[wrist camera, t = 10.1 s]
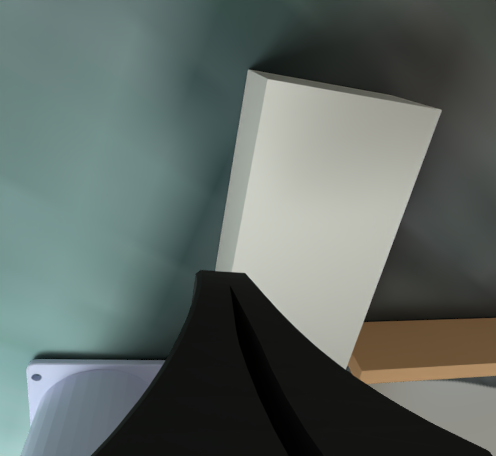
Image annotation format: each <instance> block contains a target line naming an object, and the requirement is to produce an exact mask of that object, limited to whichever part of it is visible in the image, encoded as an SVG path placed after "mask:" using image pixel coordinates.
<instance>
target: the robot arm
mask: <svg viewBox="0 0 496 456" xmlns="http://www.w3.org/2000/svg"><path fill="white" fill-rule="evenodd" d="M26 372H27V385H28V398H29V411H30V424H31V427H30V430H29V433H28V435H27V438H26V441H25V444H24V446H23V449H22V452H21V455H20V456H492V455H491V453H490V452H489V451H488V450H486V449H484V448H482V447H479V446H478V445H476V444H474V443H471V442H469V441H467V440H465V439H463V438H461V437H459V436H457V435H455V434H453V433H451V432H449V431H447V430H445V429H443V428H440V427H439V426H436V425H435V424H433V423H431V422H429V421H427V420H425V419H423V418H422V417H420V416H418V415H416V414H415V413H413V412H411V411H409V410H407V409H406V408H404V407H402V406H400V405H399V404H397V403H395V402H394V401H392V400H390V399H389V398H387V397H385V396H384V395H382V394H381V393H379V392H377V391H376V390H375V389H373V388H371V387H370V386H369V385H367V384H366V383H364V382H363V381H361V380H360V379H358V378H357V377H355V376H354V375H352V374H351V373H350V372H348V371H347V370H345V369H344V368H343V367H341V366H340V365H339V364H338V363H336V362H335V361H334V360H332V359H331V358H330V357H329V356H327V355H326V354H325V353H324V352H322V351H321V350H320V349H319V348H318V347H316V346H315V345H314V344H313V343H312V342H311V341H310V340H309V339H307V338H306V337H305V336H304V335H303V334H302V333H301V332H300V331H299V330H298V329H297V328H296V327H295V326H294V325H293V324H292V323H291V322H290V321H289V320H288V319H287V318H286V317H285V316H284V315H283V314H282V313H281V312H280V311H279V310H278V309H277V308H276V307H275V306H274V305H273V304H272V303H271V301H270V300H269V299H268V298H267V297H266V296H265V295H264V294H263V293H262V291H261V290H260V289H259V288H258V287H257V286H256V284H255V283H254V282H253V281H252V280H251V279H250V278H249V277H248V275H247V274H246V273H239V272H222V271H205V270H200V271H199V272H197V273H196V276H195V283H194V290H193V298H192V305H191V308H190V311H189V314H188V316H187V319H186V321H185V323H184V326H183V328H182V330H181V332H180V334H179V337H178V339H177V341H176V342H175V344H174V346H173V348H172V350H171V352H170V354H169V355H168V357H167V359H166V360H74V359H35V360H32V361H30V362H29V364H28V366H27V369H26ZM35 374H39V376H38V375H35Z"/></svg>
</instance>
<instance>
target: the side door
mask: <svg viewBox="0 0 496 456" xmlns="http://www.w3.org/2000/svg"><path fill="white" fill-rule="evenodd" d="M348 367H349V369H350V371H351V373H352V374H353V375H354V376H355V377H357V378H358V379H360V380H361V381H363V382H364V383H366V384H375V383H390V382H405V381H421V380H436V379H451V378H466V377H482V376H496V318H476V319H445V320H414V321H383V322H363V325H362V327H361V330H360V333H359V335H358V338H357V341H356V344H355V346H354V349H353V352H352V354H351V357H350V360H349V362H348Z"/></svg>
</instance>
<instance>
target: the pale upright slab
mask: <svg viewBox="0 0 496 456" xmlns="http://www.w3.org/2000/svg"><path fill="white" fill-rule="evenodd" d="M441 111H442V110H441V109H437V108H434V107H430V106H427V105H423V104H420V103H417V102H413V101H410V100H406V99H403V98H400V97H396V96H393V95H388V94H383V93H377V92H372V91H366V90H361V89H355V88H349V87H344V86H338V85H333V84H327V83H322V82H316V81H311V80H305V79H300V78H294V77H289V76H283V75H278V74H272V73H267V72H261V71H255V70H250V69H248V73H247V79H246V85H245V91H244V97H243V103H242V110H241V116H240V122H239V128H238V134H237V140H236V146H235V152H234V158H233V164H232V170H231V176H230V183H229V189H228V195H227V201H226V207H225V213H224V219H223V225H222V231H221V237H220V243H219V249H218V256H217V262H216V268H215V271H222V272H239V273H246V274H247V275H248V277H249V278H250V279H251V280H252V281H253V282H254V283H255V284H256V286H257V287H258V288H259V289H260V290H261V291H262V293H263V294H264V295H265V296H266V297H267V298H268V299H269V300H270V301H271V303H272V304H273V305H274V306H275V307H276V308H277V309H278V310H279V311H280V312H281V313H282V314H283V315H284V316H285V317H286V318H287V319H288V320H289V321H290V322H291V323H292V324H293V325H294V326H295V327H296V328H297V329H298V330H299V331H300V332H301V333H302V334H303V335H304V336H305V337H306V338H307V339H309V340H310V341H311V342H312V343H313V344H314V345H315V346H316V347H318V348H319V349H320V350H321V351H322V352H324V353H325V354H326V355H327V356H329V357H330V358H331V359H332V360H334V361H335V362H336V363H338V364H339V365H340V366H341V367H343V368H344V369H345V370H346V368H347V365H348V362H349V360H350V357H351V354H352V352H353V349H354V346H355V344H356V341H357V338H358V335H359V333H360V330H361V327H362V325H363V322H364V319H365V317H366V314H367V311H368V308H369V306H370V303H371V300H372V298H373V295H374V292H375V290H376V287H377V284H378V281H379V279H380V276H381V273H382V271H383V268H384V265H385V262H386V260H387V257H388V254H389V252H390V249H391V246H392V244H393V241H394V238H395V235H396V233H397V230H398V227H399V225H400V222H401V219H402V217H403V214H404V211H405V208H406V206H407V203H408V200H409V198H410V195H411V192H412V190H413V187H414V184H415V181H416V179H417V176H418V173H419V171H420V168H421V165H422V163H423V160H424V157H425V154H426V152H427V149H428V146H429V144H430V141H431V138H432V136H433V133H434V130H435V127H436V125H437V122H438V119H439V117H440V114H441Z"/></svg>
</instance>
